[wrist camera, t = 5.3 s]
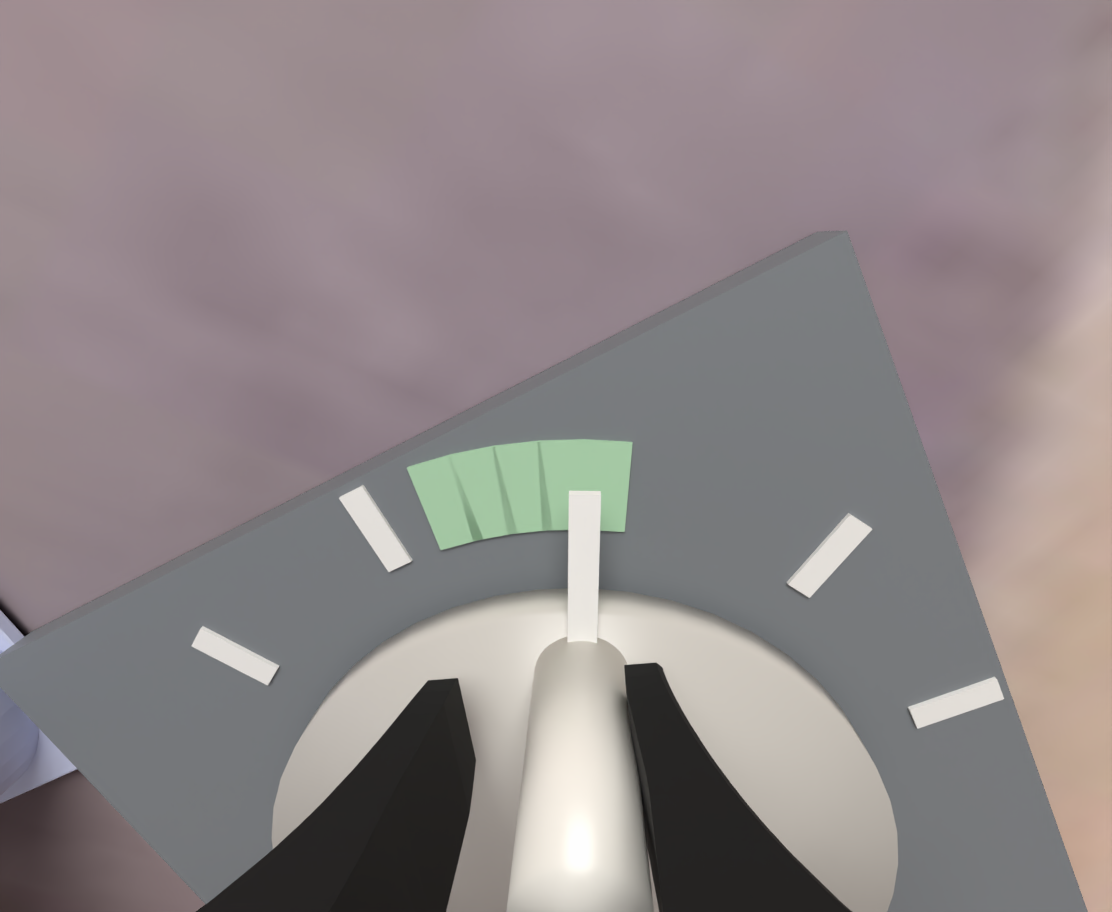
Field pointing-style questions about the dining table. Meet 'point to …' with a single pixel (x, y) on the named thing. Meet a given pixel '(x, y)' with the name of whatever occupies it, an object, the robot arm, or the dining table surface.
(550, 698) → the beige oval dome
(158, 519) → the dining table surface
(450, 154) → the dining table surface
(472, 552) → the tuner board
